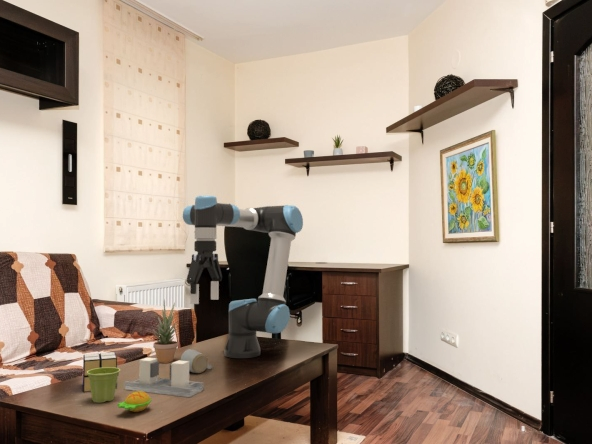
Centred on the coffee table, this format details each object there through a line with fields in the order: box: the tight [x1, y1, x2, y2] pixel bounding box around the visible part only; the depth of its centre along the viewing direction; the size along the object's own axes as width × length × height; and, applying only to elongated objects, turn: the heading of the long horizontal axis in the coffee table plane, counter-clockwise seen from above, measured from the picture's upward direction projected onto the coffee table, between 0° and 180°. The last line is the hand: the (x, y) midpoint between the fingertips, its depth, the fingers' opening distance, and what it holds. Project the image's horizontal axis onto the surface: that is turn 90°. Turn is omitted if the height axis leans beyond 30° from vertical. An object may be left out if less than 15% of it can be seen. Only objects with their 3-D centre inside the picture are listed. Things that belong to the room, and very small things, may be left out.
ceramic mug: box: [179, 348, 213, 374], centre depth 185 cm, size 11×8×8 cm
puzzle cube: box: [82, 351, 118, 393], centre depth 165 cm, size 10×10×10 cm
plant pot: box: [87, 367, 121, 403], centre depth 151 cm, size 9×9×9 cm
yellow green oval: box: [116, 391, 152, 413], centre depth 140 cm, size 7×10×5 cm
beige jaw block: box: [169, 359, 190, 387], centre depth 160 cm, size 4×5×8 cm
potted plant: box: [152, 298, 179, 364], centre depth 202 cm, size 10×10×25 cm
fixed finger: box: [138, 357, 160, 384], centre depth 163 cm, size 4×5×8 cm
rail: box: [124, 377, 204, 398], centre depth 161 cm, size 8×24×2 cm, turn 70°
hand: (204, 301), depth 174 cm, fingers open, 13 cm apart
